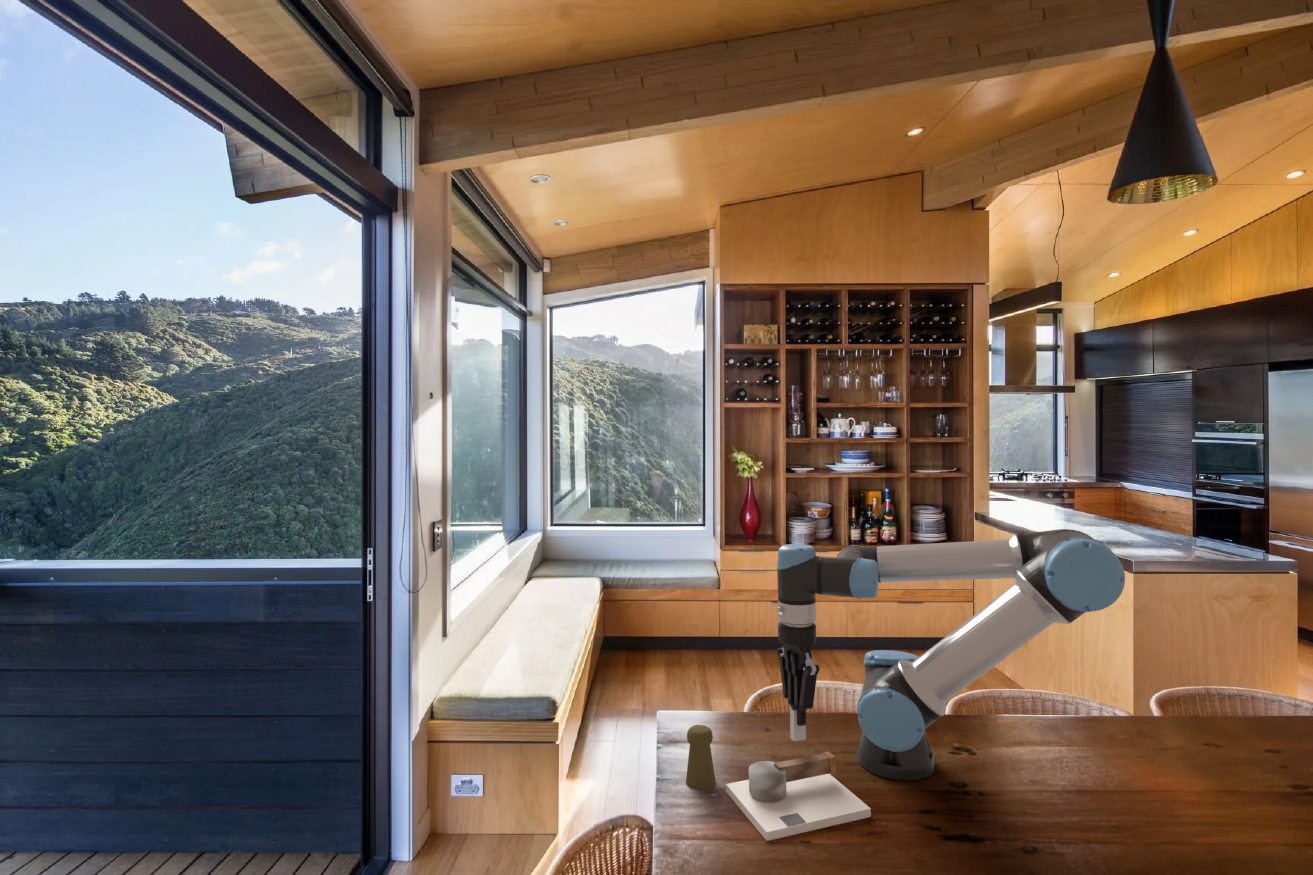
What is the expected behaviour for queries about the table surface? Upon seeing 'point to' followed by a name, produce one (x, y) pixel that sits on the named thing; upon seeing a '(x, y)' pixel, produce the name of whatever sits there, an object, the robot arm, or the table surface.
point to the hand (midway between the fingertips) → (798, 738)
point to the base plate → (800, 806)
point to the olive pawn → (700, 758)
